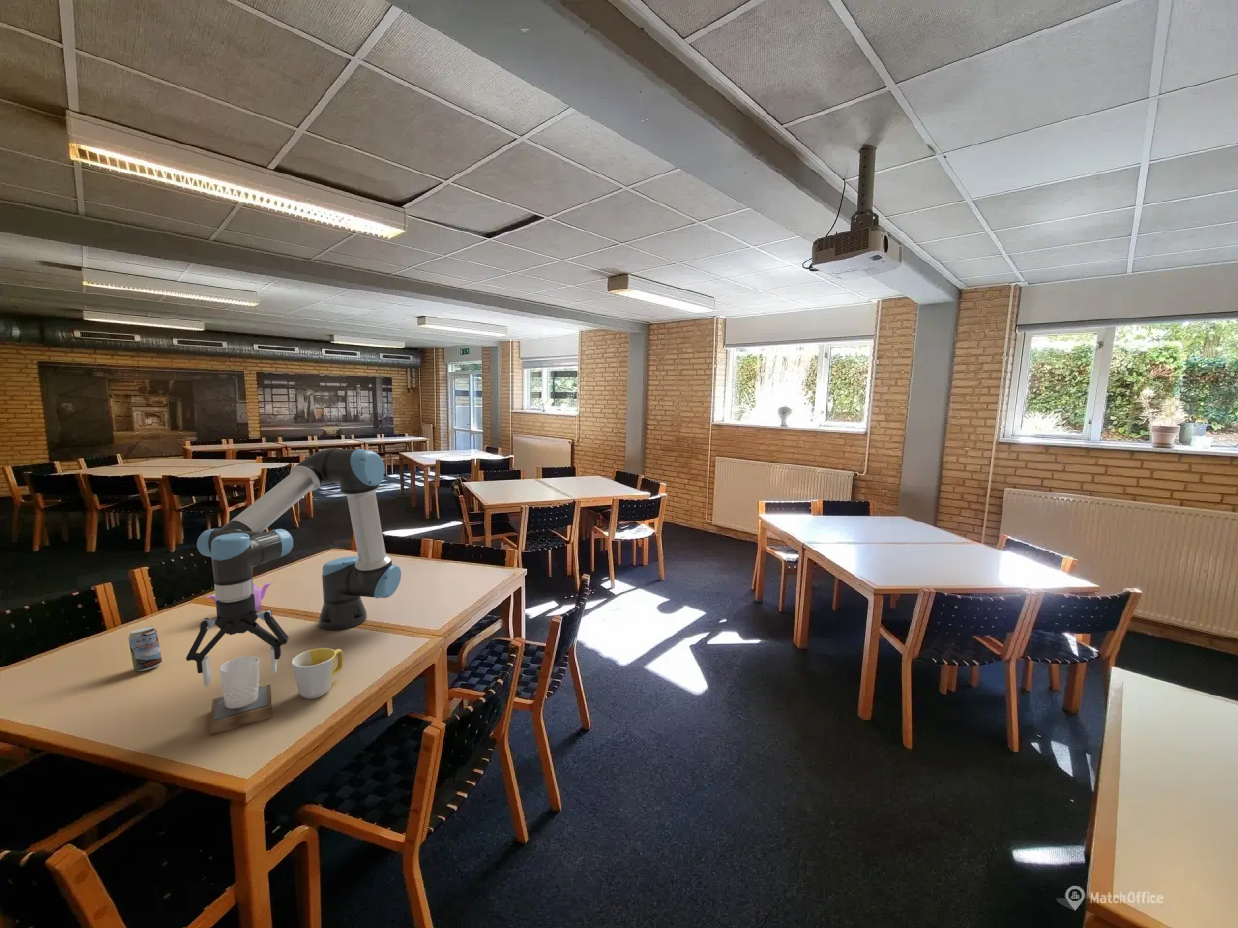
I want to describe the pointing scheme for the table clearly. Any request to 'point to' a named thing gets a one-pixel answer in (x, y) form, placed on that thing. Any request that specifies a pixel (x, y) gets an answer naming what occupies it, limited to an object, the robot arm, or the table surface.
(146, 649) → the beverage can
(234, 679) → the white cup
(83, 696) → the table surface
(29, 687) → the table surface
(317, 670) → the mug
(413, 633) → the table surface
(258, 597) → the teapot
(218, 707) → the walnut picture frame
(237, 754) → the table surface
